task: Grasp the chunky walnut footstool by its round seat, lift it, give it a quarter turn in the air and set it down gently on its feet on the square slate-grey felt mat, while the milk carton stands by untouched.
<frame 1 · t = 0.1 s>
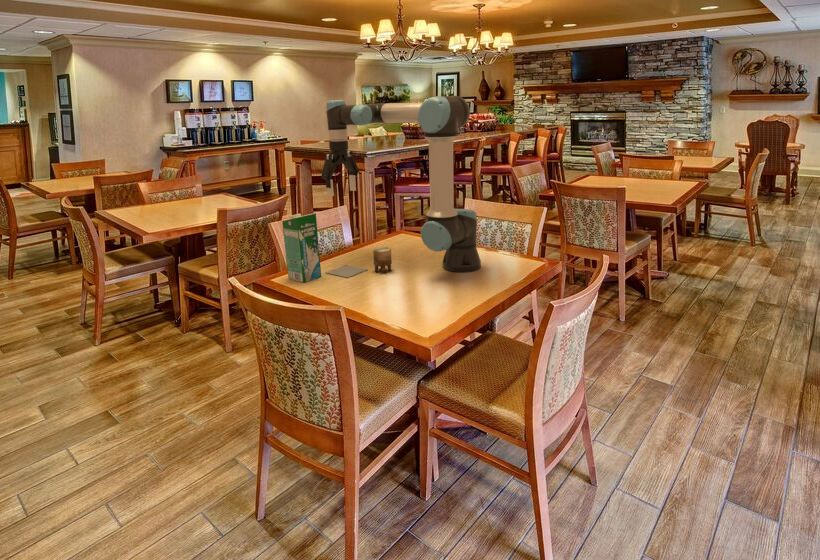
hand: (342, 193, 232), 28 cm above the table, fingers open, 13 cm apart
mat: (346, 271, 222), on the table
footstool: (383, 270, 222), on the table
milk carton: (305, 278, 217), on the table
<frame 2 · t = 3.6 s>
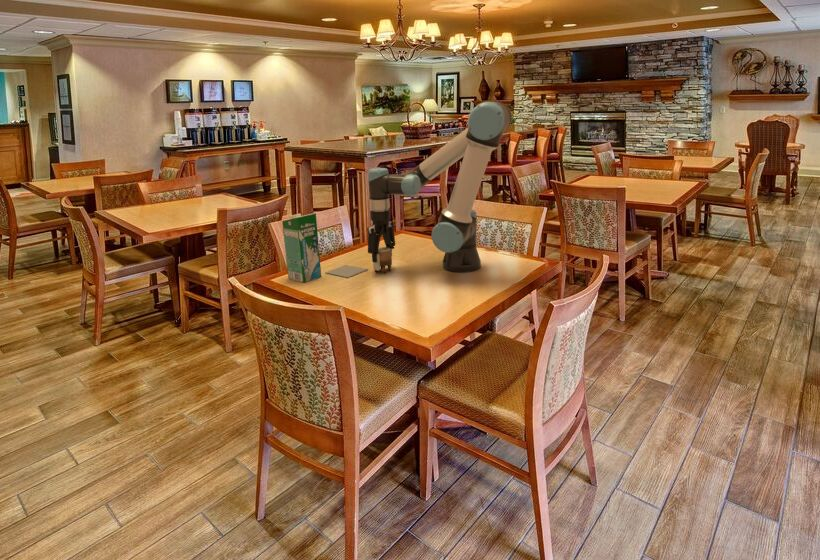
hand: (382, 267, 221), 2 cm above the table, fingers closed on footstool, 7 cm apart
footstool: (383, 270, 222), on the table, touching gripper
everything else where it was.
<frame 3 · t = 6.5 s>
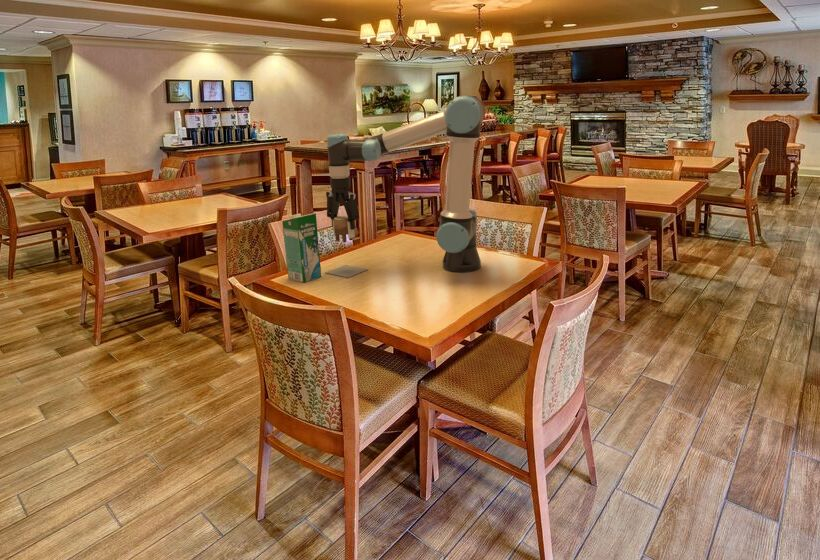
hand: (344, 236, 218), 14 cm above the table, fingers closed on footstool, 7 cm apart
footstool: (344, 240, 218), point 13 cm above the table, touching gripper
everything else where it was.
when the fingers open (4 cm above the table, at t = 9.6 s): footstool drops 2 cm, resting on mat.
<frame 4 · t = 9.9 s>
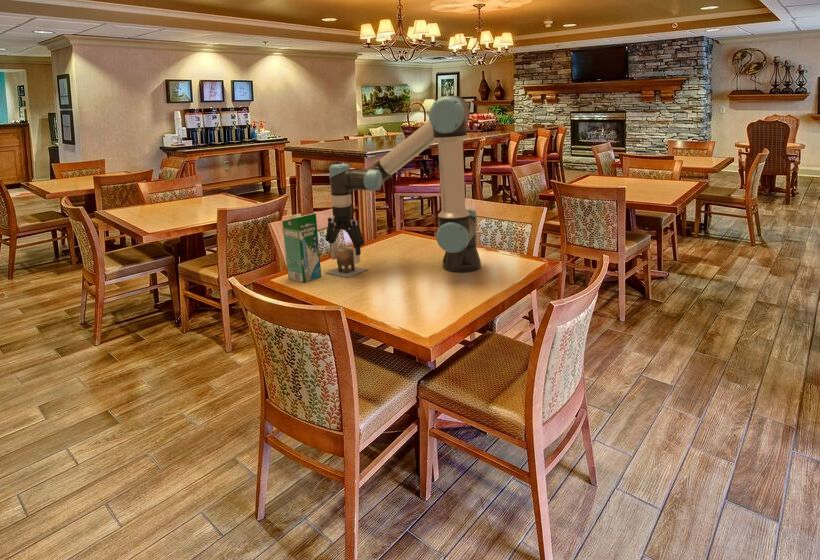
hand: (345, 260, 221), 4 cm above the table, fingers open, 11 cm apart
footstool: (346, 270, 222), resting on mat
everything else where it was.
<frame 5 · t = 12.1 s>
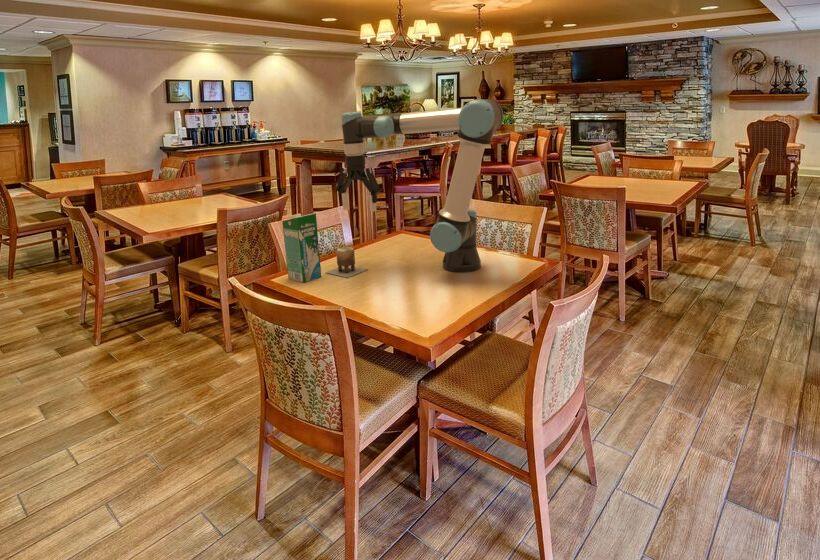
hand: (359, 210, 219), 24 cm above the table, fingers open, 13 cm apart
nothing on the table moved.
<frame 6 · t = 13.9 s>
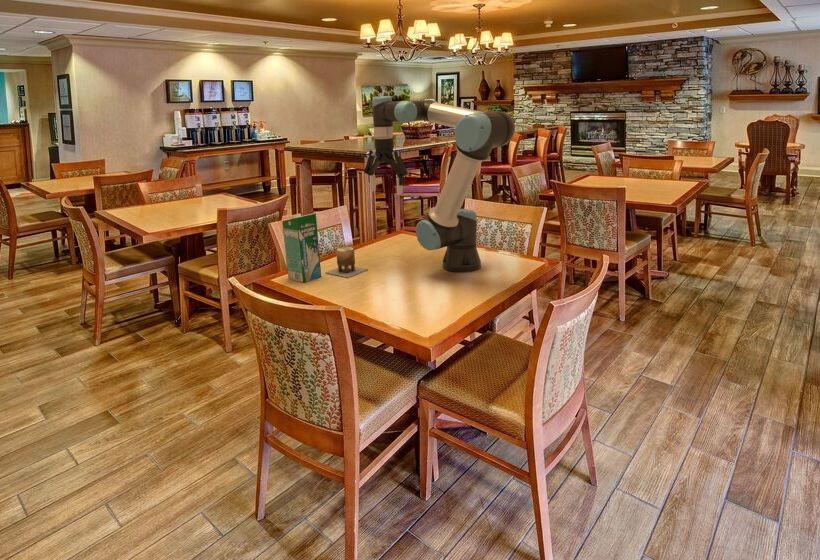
hand: (386, 192, 225), 29 cm above the table, fingers open, 13 cm apart
nothing on the table moved.
at the end: footstool 0.1 cm from the mat (horizontally); footstool tilted 0°; footstool resting on mat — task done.
